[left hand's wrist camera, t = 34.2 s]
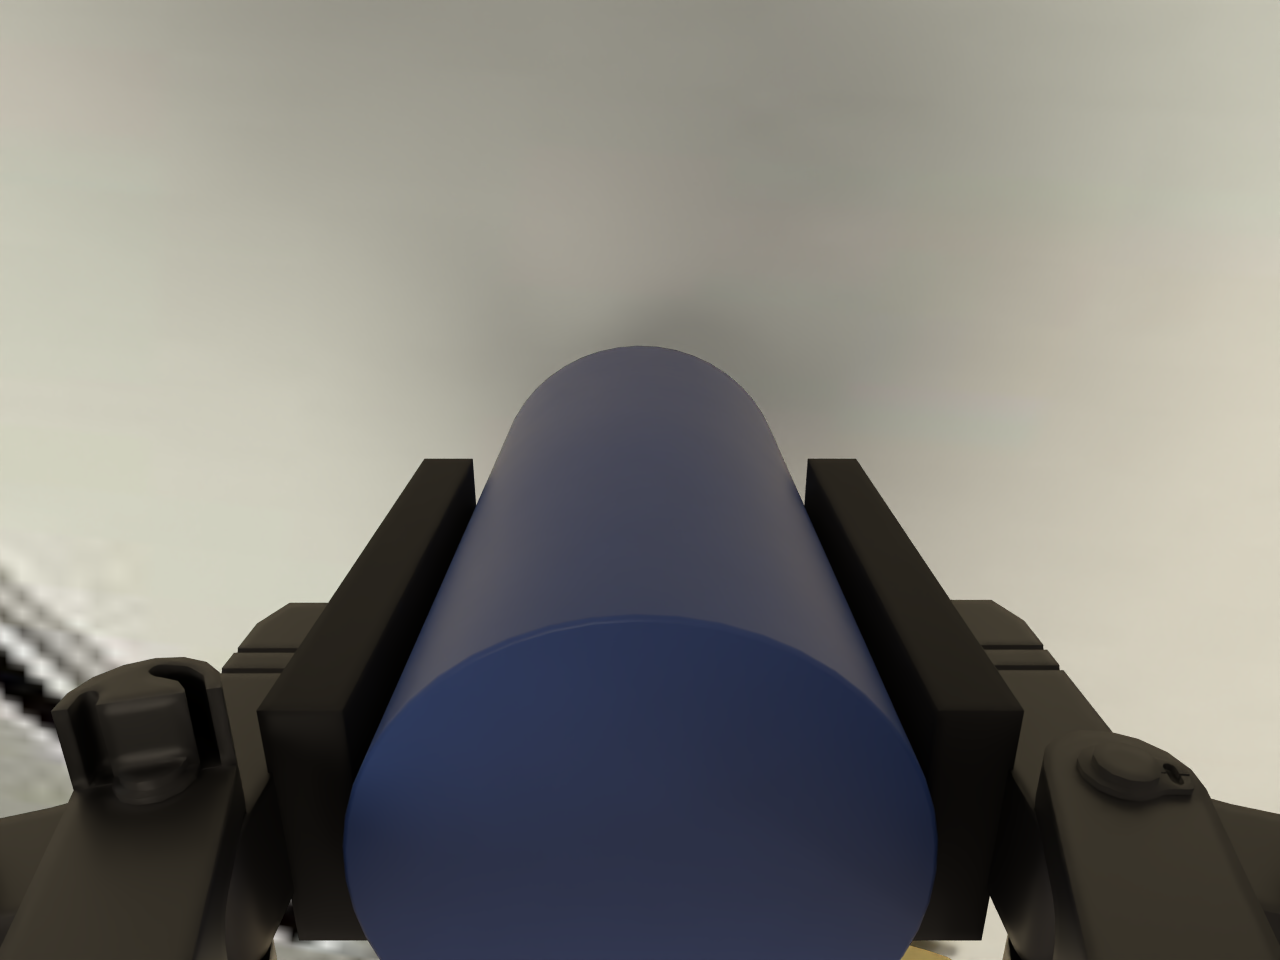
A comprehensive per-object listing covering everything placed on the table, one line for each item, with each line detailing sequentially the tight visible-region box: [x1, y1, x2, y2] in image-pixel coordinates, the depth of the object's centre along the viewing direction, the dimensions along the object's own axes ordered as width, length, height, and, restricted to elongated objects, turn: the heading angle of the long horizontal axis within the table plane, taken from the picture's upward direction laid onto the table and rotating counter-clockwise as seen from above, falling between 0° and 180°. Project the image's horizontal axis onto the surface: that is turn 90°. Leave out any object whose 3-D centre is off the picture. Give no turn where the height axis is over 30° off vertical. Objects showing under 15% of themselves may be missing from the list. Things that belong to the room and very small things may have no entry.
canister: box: [342, 346, 938, 960], centre depth 12 cm, size 5×5×10 cm
